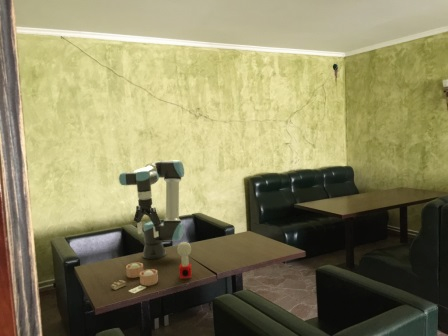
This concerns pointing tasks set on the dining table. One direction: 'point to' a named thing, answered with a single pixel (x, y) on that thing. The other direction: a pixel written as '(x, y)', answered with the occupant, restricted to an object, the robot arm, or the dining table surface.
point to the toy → (184, 260)
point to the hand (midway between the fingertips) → (148, 235)
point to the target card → (137, 289)
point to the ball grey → (148, 273)
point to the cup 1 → (134, 270)
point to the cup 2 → (148, 278)
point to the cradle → (118, 284)
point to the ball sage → (134, 266)
